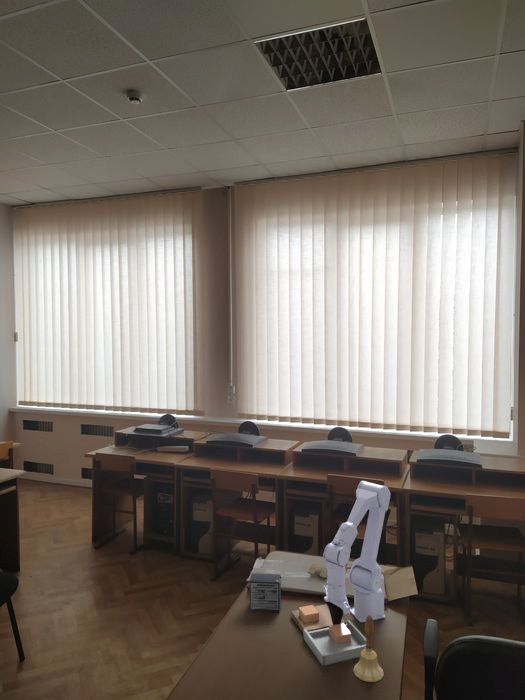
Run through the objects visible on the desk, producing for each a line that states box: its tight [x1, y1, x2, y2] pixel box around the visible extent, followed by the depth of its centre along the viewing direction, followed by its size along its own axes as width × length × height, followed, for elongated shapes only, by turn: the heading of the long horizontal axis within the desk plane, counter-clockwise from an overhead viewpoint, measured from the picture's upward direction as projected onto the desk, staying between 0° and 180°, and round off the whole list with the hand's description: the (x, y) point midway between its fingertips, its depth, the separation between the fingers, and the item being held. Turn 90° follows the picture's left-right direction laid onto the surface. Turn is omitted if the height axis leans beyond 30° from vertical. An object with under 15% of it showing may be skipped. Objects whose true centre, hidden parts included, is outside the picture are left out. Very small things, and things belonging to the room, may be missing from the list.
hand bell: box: [353, 616, 384, 683], centre depth 142 cm, size 8×8×16 cm
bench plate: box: [290, 604, 347, 634], centre depth 167 cm, size 14×12×2 cm
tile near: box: [329, 623, 351, 644], centre depth 157 cm, size 5×5×2 cm
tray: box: [302, 619, 366, 667], centre depth 154 cm, size 16×14×3 cm
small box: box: [249, 573, 282, 613], centre depth 177 cm, size 11×6×10 cm, turn 84°
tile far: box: [298, 604, 319, 623], centre depth 166 cm, size 5×5×2 cm
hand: (336, 624), depth 161 cm, fingers closed
